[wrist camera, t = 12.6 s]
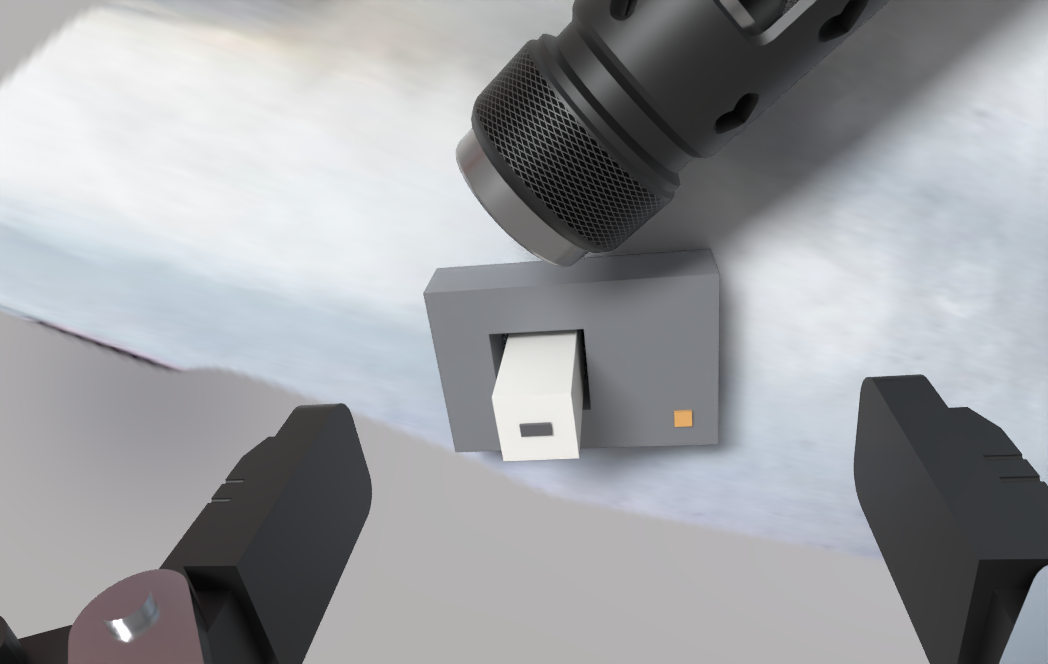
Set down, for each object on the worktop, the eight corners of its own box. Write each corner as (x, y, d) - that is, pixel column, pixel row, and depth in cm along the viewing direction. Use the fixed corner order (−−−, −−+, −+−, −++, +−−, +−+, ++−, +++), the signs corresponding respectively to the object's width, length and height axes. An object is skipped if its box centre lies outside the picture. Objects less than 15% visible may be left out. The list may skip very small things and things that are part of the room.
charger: (578, 312, 43) (570, 395, 35) (584, 368, 45) (578, 460, 37) (513, 317, 43) (491, 399, 35) (522, 372, 45) (503, 463, 37)
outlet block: (710, 249, 40) (719, 275, 37) (710, 410, 45) (718, 446, 42) (436, 268, 42) (422, 294, 39) (465, 419, 47) (454, 454, 44)
